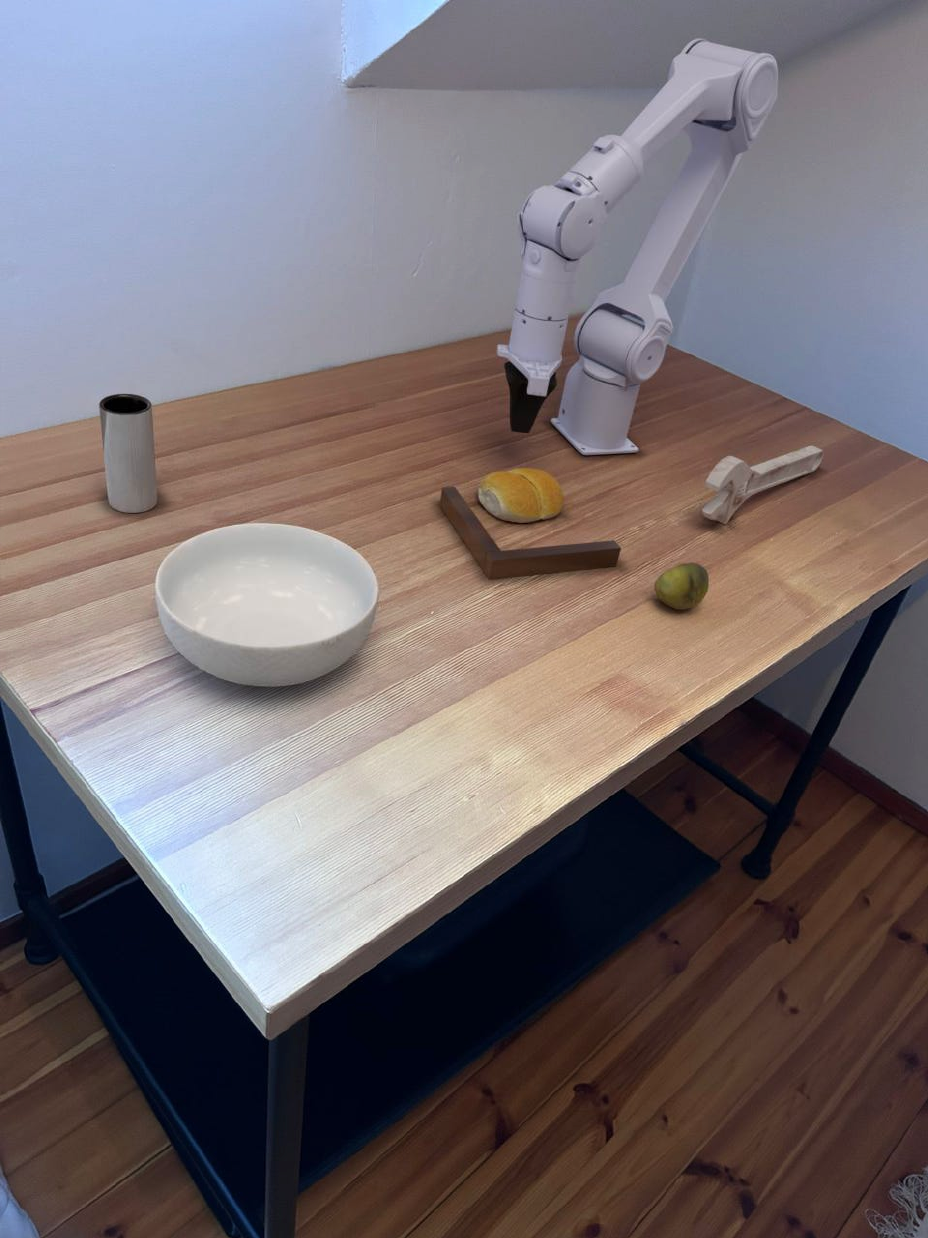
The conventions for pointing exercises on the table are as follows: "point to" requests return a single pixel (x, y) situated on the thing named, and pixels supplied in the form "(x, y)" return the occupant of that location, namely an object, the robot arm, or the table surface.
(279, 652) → the cereal bowl
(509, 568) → the corner stop
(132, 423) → the grey cylindrical vase
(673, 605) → the lime
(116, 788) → the table surface
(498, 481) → the bread roll
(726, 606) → the table surface
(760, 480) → the wrench
